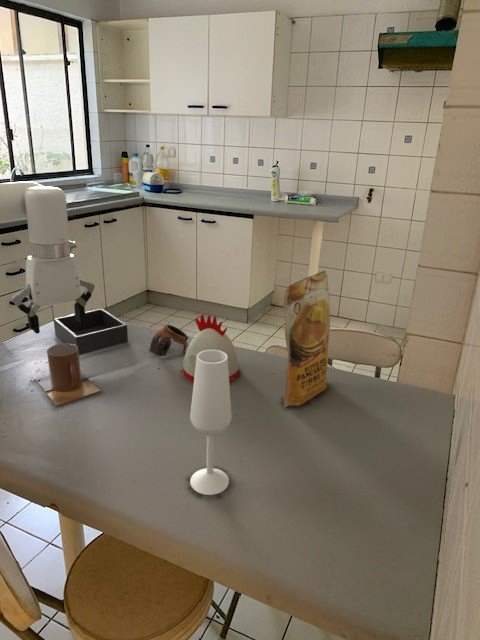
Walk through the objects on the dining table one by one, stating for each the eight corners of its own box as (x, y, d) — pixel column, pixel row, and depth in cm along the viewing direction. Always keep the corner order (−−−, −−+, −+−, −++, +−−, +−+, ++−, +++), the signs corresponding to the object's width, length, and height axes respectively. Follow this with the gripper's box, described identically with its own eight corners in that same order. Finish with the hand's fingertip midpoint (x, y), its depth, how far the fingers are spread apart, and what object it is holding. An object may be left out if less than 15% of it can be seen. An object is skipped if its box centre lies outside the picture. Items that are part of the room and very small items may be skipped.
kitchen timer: (198, 354, 124) (198, 302, 119) (246, 365, 120) (248, 311, 114) (173, 378, 112) (172, 320, 107) (225, 390, 108) (227, 331, 102)
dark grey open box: (55, 337, 131) (53, 318, 128) (103, 326, 139) (102, 308, 137) (78, 357, 120) (75, 337, 118) (128, 344, 129) (127, 324, 127)
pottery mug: (151, 344, 130) (165, 319, 129) (180, 362, 130) (194, 337, 129) (139, 353, 118) (155, 325, 117) (171, 372, 118) (187, 344, 117)
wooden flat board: (34, 380, 108) (33, 378, 108) (75, 368, 115) (75, 366, 114) (56, 407, 99) (56, 405, 99) (100, 392, 105) (100, 390, 105)
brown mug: (47, 383, 107) (42, 347, 103) (74, 374, 111) (71, 340, 107) (61, 399, 101) (57, 362, 97) (90, 390, 105) (87, 354, 101)
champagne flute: (212, 462, 84) (215, 343, 75) (237, 482, 80) (243, 358, 71) (182, 479, 80) (181, 354, 71) (206, 501, 75) (208, 371, 66)
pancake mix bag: (265, 402, 104) (274, 283, 93) (313, 374, 117) (326, 267, 107) (289, 414, 100) (301, 291, 89) (336, 384, 113) (351, 273, 102)
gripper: (83, 241, 103) (88, 312, 109) (-1, 250, 92) (11, 329, 98) (98, 249, 97) (103, 323, 104) (11, 259, 87) (22, 342, 93)
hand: (58, 326), depth 101 cm, fingers open, 9 cm apart
